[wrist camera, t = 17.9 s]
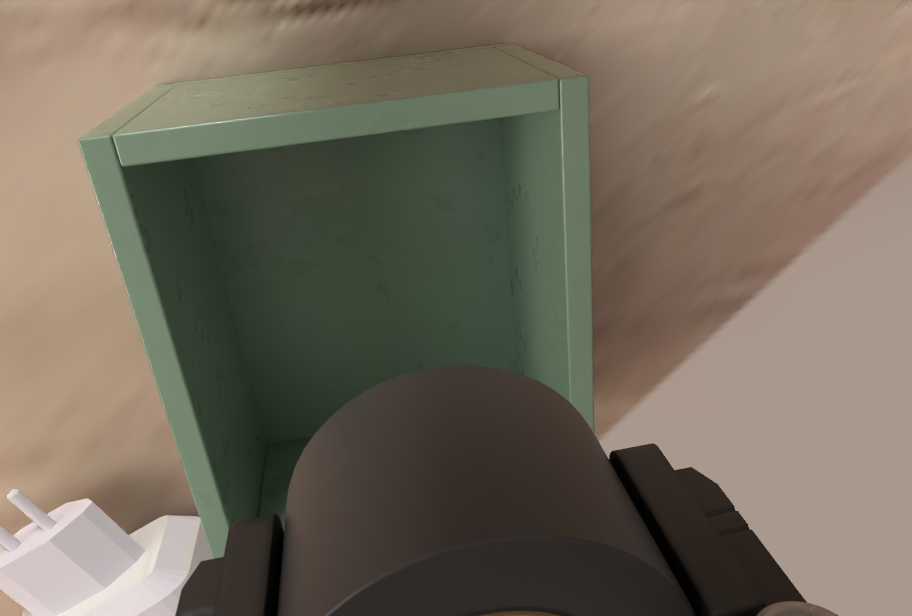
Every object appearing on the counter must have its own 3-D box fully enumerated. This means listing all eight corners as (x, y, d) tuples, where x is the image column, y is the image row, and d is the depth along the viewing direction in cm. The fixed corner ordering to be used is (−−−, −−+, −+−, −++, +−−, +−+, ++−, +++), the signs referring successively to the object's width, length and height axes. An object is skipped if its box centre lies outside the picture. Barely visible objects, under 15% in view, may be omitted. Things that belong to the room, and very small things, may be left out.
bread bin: (155, 85, 25) (75, 139, 17) (511, 42, 26) (589, 74, 18) (253, 451, 32) (228, 610, 24) (533, 403, 33) (596, 539, 25)
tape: (320, 646, 14) (316, 890, 10) (252, 397, 11) (215, 599, 8) (606, 588, 14) (700, 799, 11) (599, 336, 12) (719, 499, 8)
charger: (108, 410, 30) (313, 619, 37) (-72, 515, 31) (160, 701, 37) (72, 483, 26) (311, 704, 32) (-136, 603, 26) (139, 795, 33)
